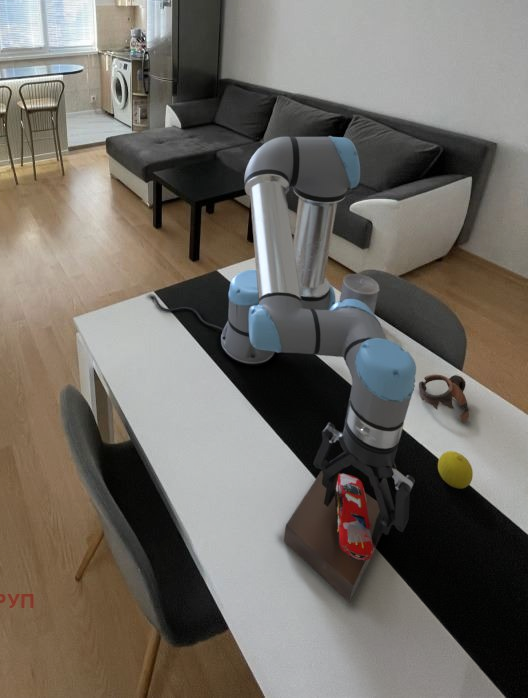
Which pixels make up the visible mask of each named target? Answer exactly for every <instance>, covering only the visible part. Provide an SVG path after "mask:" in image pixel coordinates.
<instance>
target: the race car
mask: <svg viewBox="0 0 528 698" xmlns="http://www.w3.org/2000/svg"><path fill="white" fill-rule="evenodd" d="M365 493H366V492H365V488H364V485H363V482H362V481H361V479H359V478H358V477H356V476H354V475H350V474H346V473H340V474H339V476H338V481H337V486H336V491H335V506H336V518H337V530H338V543H339V545H340V548H341V549H342V550H343V551H344V552H345V553H346V554H347V555H348V556H350V557H351V558H353V559H355V560H358V561H366V560H369V559H370V560H371V558H372V557H373V556H374V552H373V544H372V538H371V530H370V526H372V524H371V523H369V517H368V510H367V503H366V495H365Z"/></svg>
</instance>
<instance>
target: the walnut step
mask: <svg viewBox="0 0 528 698" xmlns="http://www.w3.org/2000/svg"><path fill="white" fill-rule="evenodd" d="M338 473H339V474H341V473H340V472H338ZM322 478H323V472H322V470H321V471H319V474H318V475H317V477H316V478H315V480H314V481H313V483H312V485H311V486H310V488H309V489H308V491H307V492H306V494H305V495H304V497H302V500H301V501H300V502H299V504H298V505H297V507H296V509H295V510H294V512H293V513H292V514H291V516H290V517H289V519H288V521H287V522H286V524H285V527H284V529H285V530H284V537H283V542H284V543H285V544H286V545H287V546H288V547H289V548H290V549H292V550H293V552H295V553H296V554H297V555H298V556H299V557H300V558H301V560H303V561H304V562H305V563H306V564H308V566H310V568H311V569H313V571H315V572H316V573H317V574H318V575H319V576H320V577H321V578H322V579H323V580H325V582H327V583H328V584H329V586H331V587H332V588H333V589H334V590H335V591H336V592H337V593H338V594H340V596H342V598H344V599H345V601H346V602H348V603H350V602H351V600H352V598H353V596H354V594H355V591H356V590H357V588H358V586H359V584H360V581H361V579H362V577H363V575H364V573H365V571H366V569H367V567H368V565H369V562H370V561H371V558H370V559H369V560H366V561H358V560H355V559H353V558H351V557H350V556H348V555H347V554H346V553H345V552H344V551H343V550H342V549H341V548H340V545H339V543H338V530H337V518H336V506H335V496H334V498H333V499H332V501H331V503H330V504H329V506H328V507H327V506H326V505H325V504H324V500H325V494H326V489H327V488H325V487H324V486H323V485H322ZM365 495H366V503H367V510H368V517H369V523H371V524H372V526H370V530H371V538H372V534H373V530H374V526H375V522H376V518H377V516H378V514H379V512H380V509H379V506H378V502H377V499H375V498H373V497H372V496H370V495H369V494H368V493H366V492H365ZM383 534H384V533H383V532H381V535H380V537H379V539H378V541H377V543H376V545H374V544H373V543H372V544H373V553H374V552H375V550H376V548H377V546H378V544H379V541H380V540H381V538H382V535H383Z"/></svg>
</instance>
